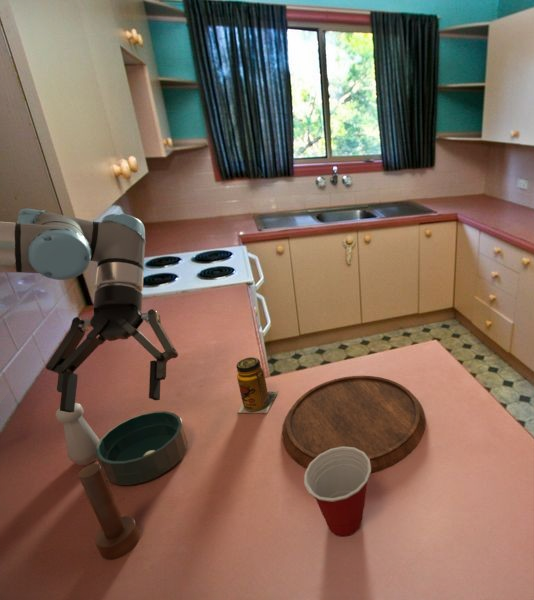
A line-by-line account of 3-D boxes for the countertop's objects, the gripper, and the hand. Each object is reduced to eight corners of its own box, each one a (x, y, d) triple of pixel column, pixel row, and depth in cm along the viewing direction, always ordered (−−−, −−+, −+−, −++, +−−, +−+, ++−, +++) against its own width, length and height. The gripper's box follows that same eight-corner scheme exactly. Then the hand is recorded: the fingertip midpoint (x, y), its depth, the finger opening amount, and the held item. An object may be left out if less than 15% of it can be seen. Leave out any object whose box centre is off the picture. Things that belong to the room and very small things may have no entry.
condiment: (237, 413, 101) (227, 370, 96) (250, 391, 108) (242, 351, 104) (267, 413, 100) (258, 370, 95) (278, 392, 108) (271, 351, 103)
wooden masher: (96, 564, 67) (61, 490, 61) (105, 535, 72) (73, 463, 65) (136, 552, 69) (106, 478, 62) (142, 524, 74) (114, 452, 67)
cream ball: (141, 466, 83) (136, 457, 85) (153, 471, 85) (148, 463, 87) (153, 452, 84) (148, 445, 86) (165, 458, 86) (160, 450, 88)
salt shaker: (108, 457, 89) (88, 406, 83) (76, 473, 85) (53, 421, 80) (100, 444, 92) (80, 394, 87) (68, 459, 88) (46, 408, 83)
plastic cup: (306, 507, 76) (298, 455, 71) (365, 488, 79) (360, 438, 74) (318, 562, 66) (309, 506, 62) (383, 538, 70) (380, 484, 65)
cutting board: (317, 504, 76) (315, 493, 75) (263, 411, 101) (261, 402, 100) (454, 433, 92) (454, 424, 91) (379, 368, 117) (378, 360, 116)
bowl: (94, 496, 79) (83, 472, 77) (117, 441, 93) (109, 419, 90) (182, 475, 83) (174, 452, 81) (192, 426, 97) (186, 405, 94)
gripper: (196, 292, 86) (195, 397, 78) (57, 306, 81) (43, 419, 74) (183, 276, 79) (181, 390, 71) (31, 290, 74) (12, 413, 67)
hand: (111, 405), depth 73 cm, fingers open, 13 cm apart
